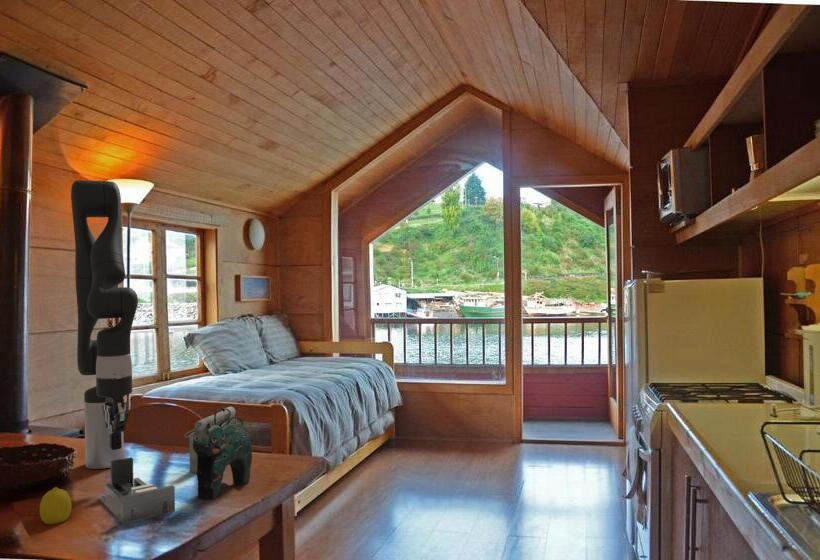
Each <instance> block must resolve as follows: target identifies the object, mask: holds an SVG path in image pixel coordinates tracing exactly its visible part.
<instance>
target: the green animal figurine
mask: <svg viewBox="0 0 820 560" xmlns="http://www.w3.org/2000/svg"><path fill="white" fill-rule="evenodd" d="M220 410H221V411H222V410H223V412H225V407H223V406H221V407H217V408H216V410H215V411H214V413H213V415H214V423H215V425H210V423H208V424H207V425H202V426H200V427H199V428H198V429H197V430H194V432H195V433H194V437H193V449H194V451H195V452H196V454H197V472H196V477H197V478H196V479H197V497H198V499H200V500H212V501H213V500H215V499H216V498H218V497H220V495H221V487H222V481H223V477H224V472H225V470H226V468H227V467H228V465H229V466H230V470H231V473H232V474H231V476H232V484H233V485H241V486H242V485H246V484H248V483H249V482H250V477H251V467H252V458H253V449H252V446H253V445H252V441H251V438H250V433H249V432H248V429H247V427H246V426H244V421H243V418H241V417H240V416H234V417H232V418H230V419H229V420H228V421H227V422H226V423H224V422H221V423H219V424H217V425H216V414H217V413H219V412H218V411H220ZM232 419H237V420H239V421H240V423H238V422H237V423H229V422H230V421H231V420H232ZM223 423H224V424H223Z"/></svg>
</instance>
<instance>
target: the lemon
mask: <svg viewBox="0 0 820 560" xmlns="http://www.w3.org/2000/svg"><path fill="white" fill-rule="evenodd" d="M39 504H40V505H39V516H40V519H41V521H42V522H43V523H44V524H45V525H56V524H60V523H64V522H65V521H67V520H68V518H69V517H70V515H71V514H72V513H71V512H72V506H73V505H72V504H73V503H72V499H71V497H70V494H69V493H68V492H67V491H66V490H65V489H62V488H58V487H56V486H55V487H53V488H52V489H50V490H48V491H47V492H46V493H45V494H44V495H43V496H42V498H41V500H40V503H39Z"/></svg>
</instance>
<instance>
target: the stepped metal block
mask: <svg viewBox="0 0 820 560" xmlns="http://www.w3.org/2000/svg"><path fill="white" fill-rule="evenodd" d="M110 463H111V467H110V484H111V485H112V486H113V487H114V488H115V489H117V490H118V491H119V492H120V493H121V494H122V495H123V496H124V495H129V494H131V488H133V487H134V459H133V457H126V458H125V457H124V459H119V460H114V461H110Z"/></svg>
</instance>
